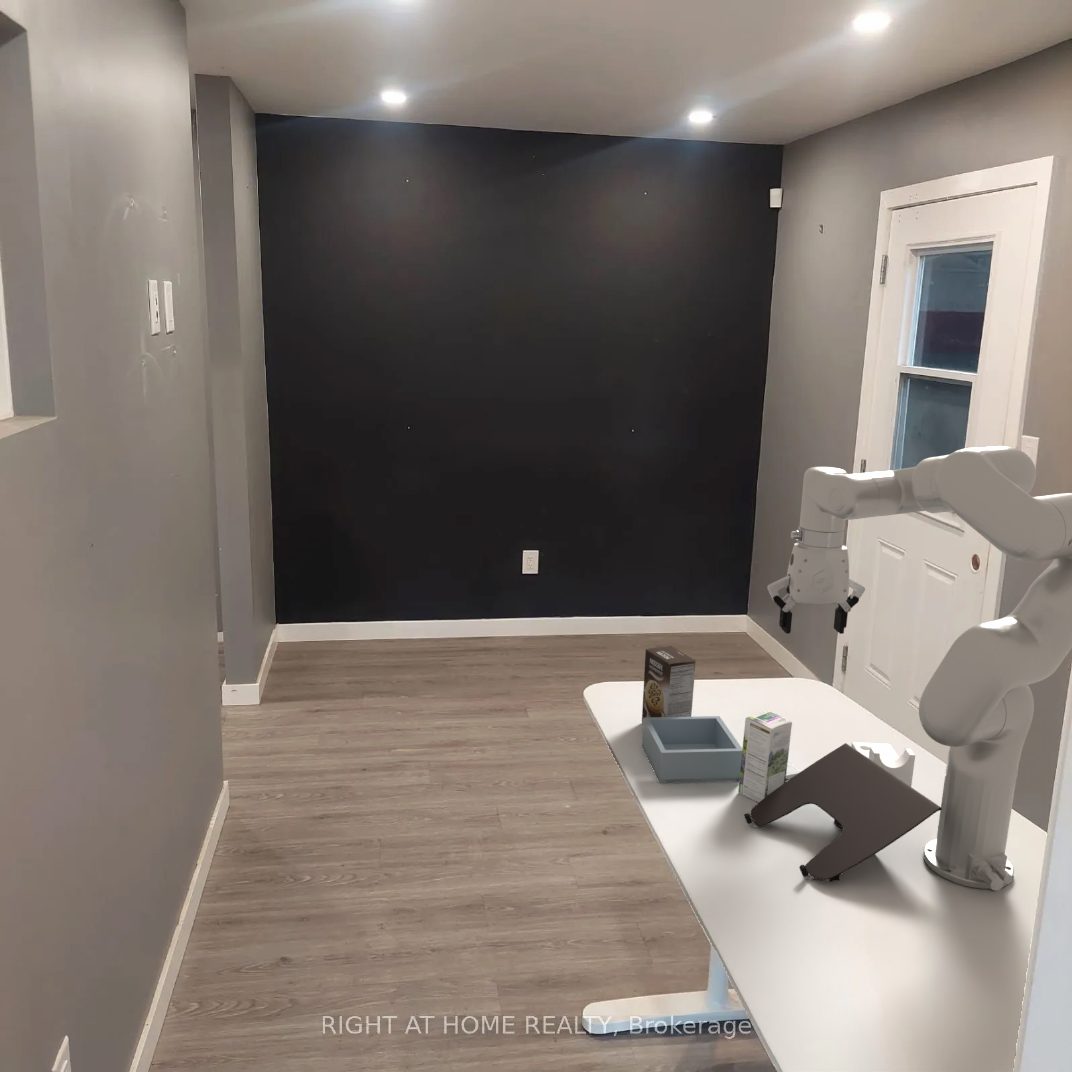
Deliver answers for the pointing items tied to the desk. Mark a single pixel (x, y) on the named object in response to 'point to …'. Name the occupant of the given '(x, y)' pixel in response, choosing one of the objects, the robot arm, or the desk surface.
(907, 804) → the portable electronic device stand
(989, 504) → the robot arm
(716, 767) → the bin
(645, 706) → the coffee box
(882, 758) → the bracket
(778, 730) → the syrup box
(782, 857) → the desk surface
